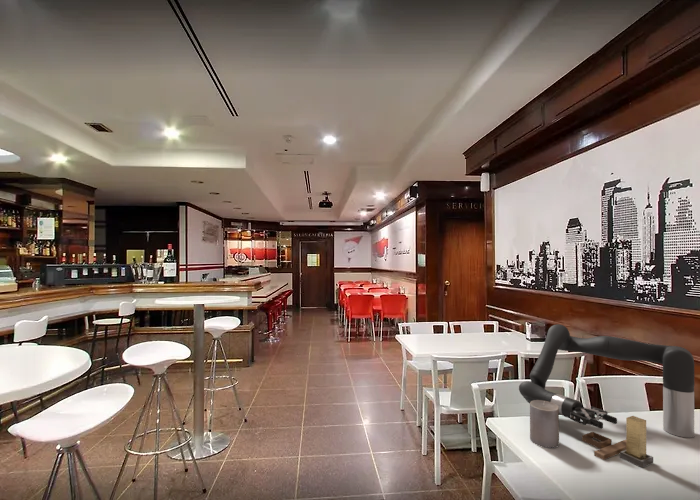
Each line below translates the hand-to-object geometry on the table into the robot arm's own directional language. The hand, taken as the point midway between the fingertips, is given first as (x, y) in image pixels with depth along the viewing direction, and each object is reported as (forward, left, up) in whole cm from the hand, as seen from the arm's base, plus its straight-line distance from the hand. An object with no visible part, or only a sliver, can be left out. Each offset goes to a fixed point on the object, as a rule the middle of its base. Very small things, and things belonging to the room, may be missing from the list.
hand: (609, 423), depth 133 cm
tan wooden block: (0, +8, -9) cm, 12 cm away
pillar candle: (+17, -14, -9) cm, 24 cm away
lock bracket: (0, +2, -9) cm, 9 cm away
